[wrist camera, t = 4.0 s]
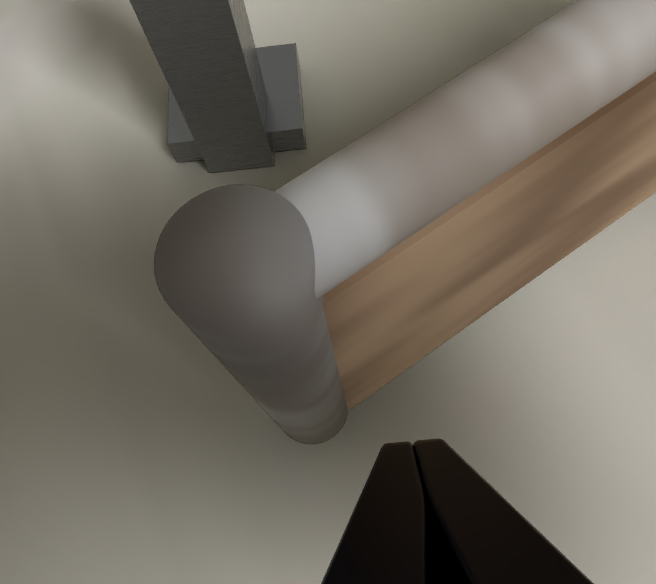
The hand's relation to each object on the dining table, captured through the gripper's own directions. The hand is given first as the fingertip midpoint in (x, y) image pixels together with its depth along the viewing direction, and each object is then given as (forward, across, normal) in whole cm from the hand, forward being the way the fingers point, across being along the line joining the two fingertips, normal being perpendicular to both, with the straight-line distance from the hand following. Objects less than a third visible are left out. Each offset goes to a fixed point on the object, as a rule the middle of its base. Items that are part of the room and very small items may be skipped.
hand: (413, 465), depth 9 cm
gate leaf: (+8, -4, 0) cm, 9 cm away
